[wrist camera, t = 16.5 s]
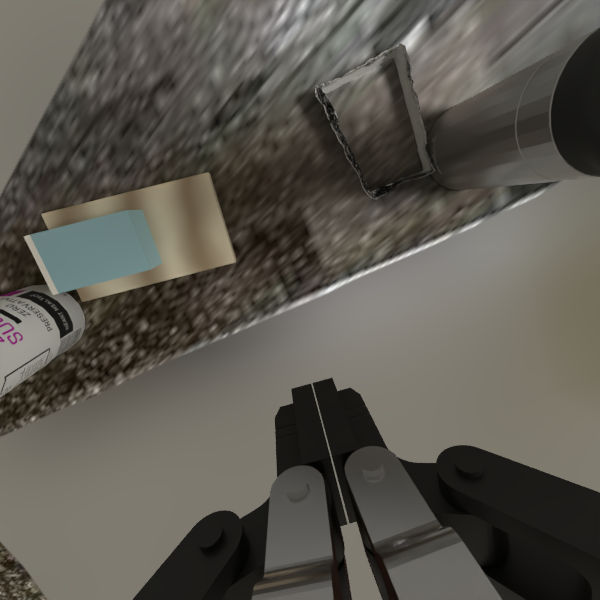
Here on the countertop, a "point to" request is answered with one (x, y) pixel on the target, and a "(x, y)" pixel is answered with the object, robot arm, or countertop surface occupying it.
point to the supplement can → (35, 331)
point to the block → (94, 250)
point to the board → (162, 230)
